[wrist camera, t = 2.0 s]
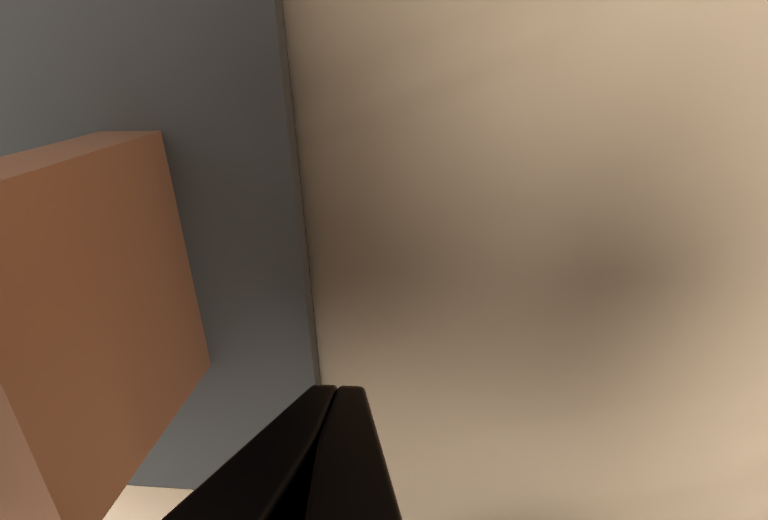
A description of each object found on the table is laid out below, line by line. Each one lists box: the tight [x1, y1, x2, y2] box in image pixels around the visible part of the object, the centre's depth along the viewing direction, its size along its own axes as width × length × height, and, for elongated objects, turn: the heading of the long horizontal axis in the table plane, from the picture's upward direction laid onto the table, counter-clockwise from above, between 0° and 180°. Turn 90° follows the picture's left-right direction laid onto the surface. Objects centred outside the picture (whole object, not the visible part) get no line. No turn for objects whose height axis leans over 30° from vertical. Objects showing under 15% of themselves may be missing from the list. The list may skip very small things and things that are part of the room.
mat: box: [0, 0, 321, 490], centre depth 14 cm, size 16×14×1 cm
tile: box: [0, 130, 211, 520], centre depth 10 cm, size 7×2×6 cm, turn 2°
